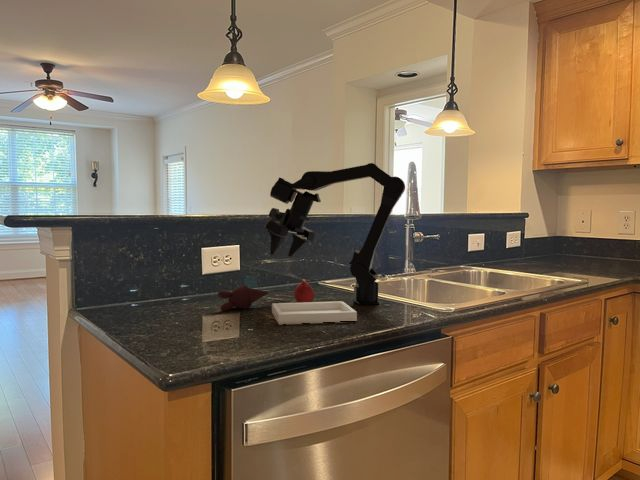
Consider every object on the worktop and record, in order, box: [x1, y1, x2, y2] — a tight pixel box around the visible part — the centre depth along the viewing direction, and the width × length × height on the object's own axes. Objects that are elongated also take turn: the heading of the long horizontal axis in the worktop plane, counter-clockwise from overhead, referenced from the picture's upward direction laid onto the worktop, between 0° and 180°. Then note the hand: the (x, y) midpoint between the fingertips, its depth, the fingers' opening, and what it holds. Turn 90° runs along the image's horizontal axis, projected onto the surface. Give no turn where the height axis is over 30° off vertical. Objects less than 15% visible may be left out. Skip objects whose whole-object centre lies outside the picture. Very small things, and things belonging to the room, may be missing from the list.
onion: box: [293, 279, 315, 303], centre depth 136 cm, size 6×6×8 cm
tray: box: [271, 300, 358, 326], centre depth 124 cm, size 20×13×2 cm, turn 103°
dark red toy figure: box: [217, 284, 269, 312], centre depth 133 cm, size 7×7×15 cm
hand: (280, 255), depth 149 cm, fingers open, 9 cm apart
